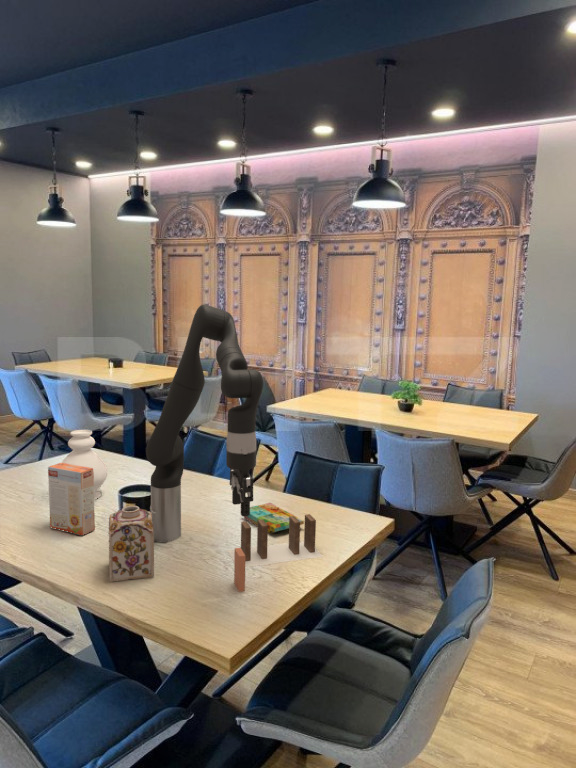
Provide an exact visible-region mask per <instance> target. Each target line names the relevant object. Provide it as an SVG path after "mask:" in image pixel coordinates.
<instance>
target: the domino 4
mask: <svg viewBox="0 0 576 768" xmlns="http://www.w3.org/2000/svg"><path fill="white" fill-rule="evenodd" d="M296 517H297V516H296ZM296 517H295V515H294V516H289V528H288V543H289V549H290V550H291V551H292V553H293V554H294V555H297V554H299V547H300V539H301V538H300V537H301V525H300V521H299V520H298V519H297V518H296Z"/></svg>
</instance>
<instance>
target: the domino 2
mask: <svg viewBox="0 0 576 768" xmlns="http://www.w3.org/2000/svg"><path fill="white" fill-rule="evenodd" d="M251 547H252V527H251V526H250V524H249V523H248V520H247V521H246V520H245V521H241V523H240V548H241V549H242V551H243V553H244V554H245V561H251Z"/></svg>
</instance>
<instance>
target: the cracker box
mask: <svg viewBox="0 0 576 768" xmlns="http://www.w3.org/2000/svg"><path fill="white" fill-rule="evenodd" d="M47 475H48V503H49V504H48V505H49V528H50V527H52V528H56V529H60V530H64V531H68V532H72V533H75V534H74V535H76V534H79V535H78V536H80V535H83V536H85V535H87V534H90V533H92V532H94V531H95V530H96V526H95V522H96V521H95V518H96V517H95V500H94V475H93V468H88V467H83V466H77V465H71V464H66V463H62V462H59V463H56V464H54V465H52V464H51V465H50V466H47ZM56 529H55V530H56ZM60 530H59V531H60ZM93 530H94V531H93ZM64 531H63V532H64ZM91 531H92V532H91ZM68 532H67V533H68ZM89 532H90V533H89ZM72 533H71V534H72ZM84 534H85V535H84Z"/></svg>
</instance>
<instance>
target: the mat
mask: <svg viewBox="0 0 576 768" xmlns="http://www.w3.org/2000/svg"><path fill="white" fill-rule="evenodd" d="M227 552H228V554H229V556H230V557H231V560H232V561H233V562H234V555H235V548H234V549H227ZM323 557H324V555H322V554H321V553H320V551H319V550H318V549H317V548H316V547H315V552H312V553H310V552H309V551H308V550H307V549H306V548H305V546H304V540H301V541H300V547H299V554H297V555H294V554H293V553H292V551H291V550H290V549H289V542H283V543H276V544H275V543H274V544H267V559H261V557H260V556H259V554H258V553H257V546H251V561H245V568H251V567H252V568H253V567H256V566H257V567H258V566H265V565H266V566H267V565H272V564H280V563H281V564H282V563H288V562H294V561H301V560H309V559H316V558H323Z"/></svg>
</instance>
